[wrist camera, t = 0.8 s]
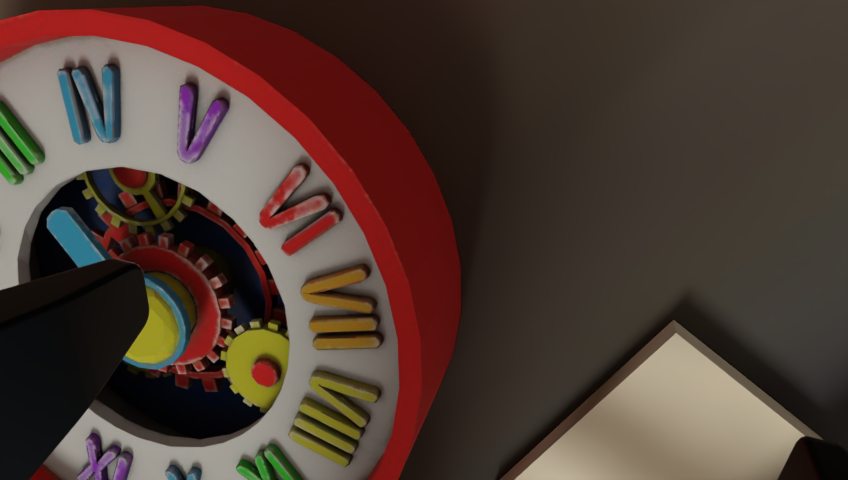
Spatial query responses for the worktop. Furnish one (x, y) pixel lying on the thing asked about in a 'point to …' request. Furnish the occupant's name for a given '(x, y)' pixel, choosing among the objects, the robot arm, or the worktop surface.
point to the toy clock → (229, 242)
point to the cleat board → (669, 423)
